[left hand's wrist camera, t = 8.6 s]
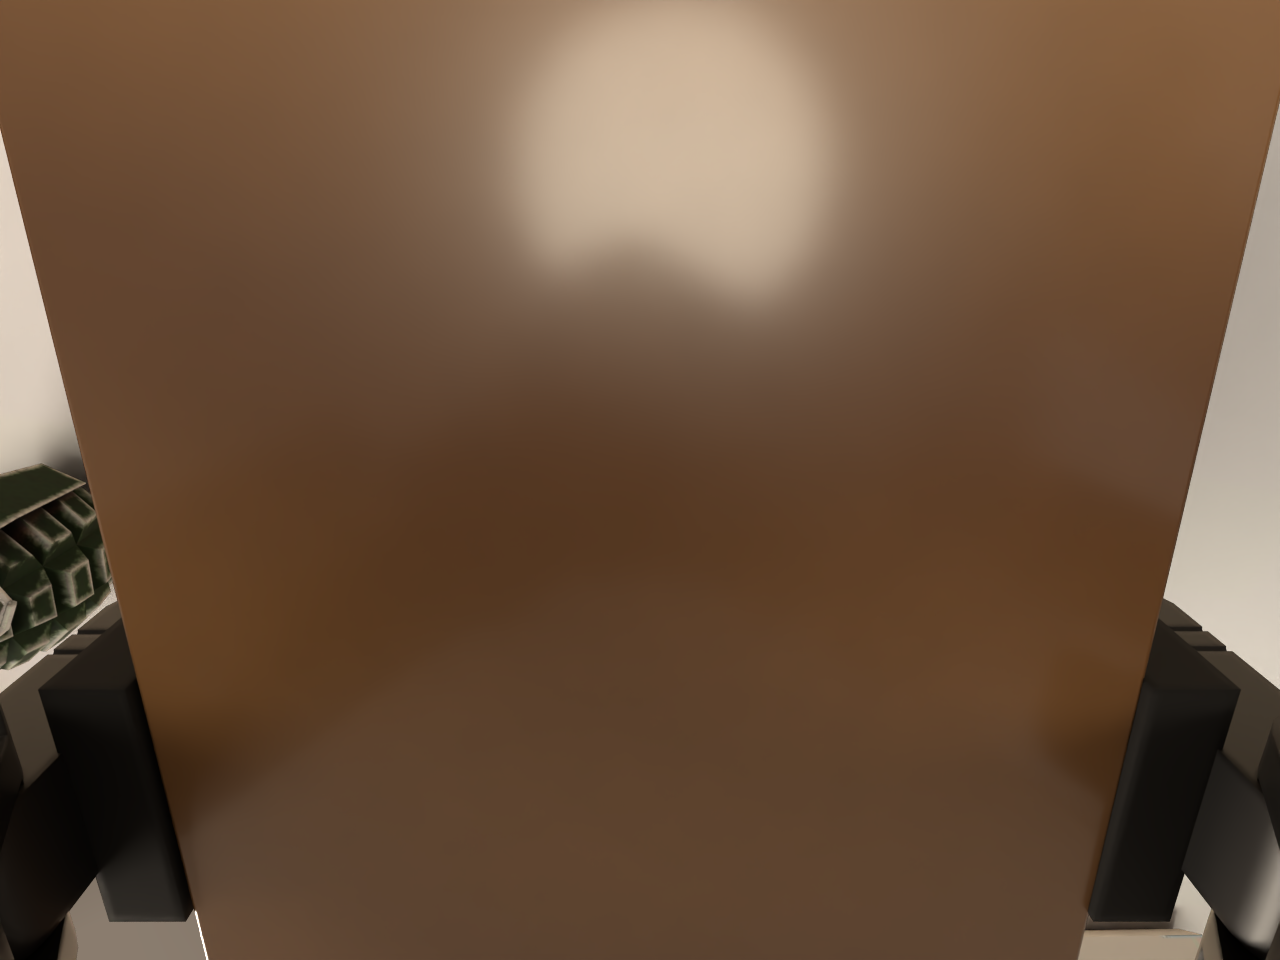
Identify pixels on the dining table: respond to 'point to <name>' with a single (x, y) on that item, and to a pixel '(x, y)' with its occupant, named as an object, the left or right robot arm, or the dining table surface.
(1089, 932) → the electronic device
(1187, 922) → the dining table surface
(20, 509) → the grenade
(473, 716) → the wide beam
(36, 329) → the dining table surface
